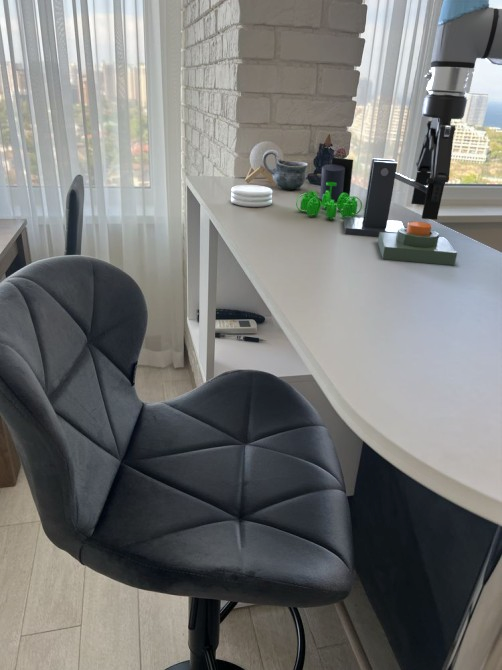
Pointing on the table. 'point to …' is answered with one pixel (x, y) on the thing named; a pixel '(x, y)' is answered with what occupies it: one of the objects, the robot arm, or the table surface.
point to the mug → (286, 172)
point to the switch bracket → (376, 202)
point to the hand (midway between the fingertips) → (423, 211)
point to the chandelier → (329, 204)
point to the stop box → (416, 247)
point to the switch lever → (411, 182)
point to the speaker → (337, 177)
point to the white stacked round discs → (251, 195)
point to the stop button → (418, 228)
